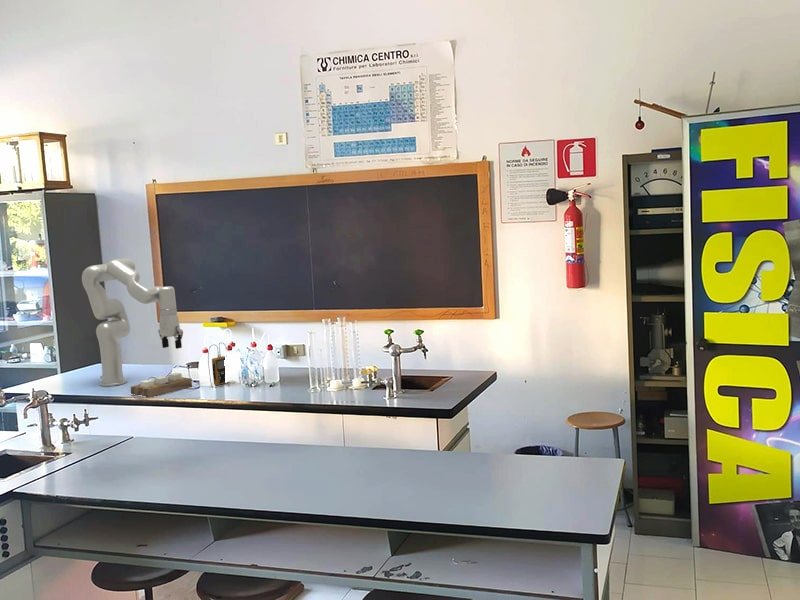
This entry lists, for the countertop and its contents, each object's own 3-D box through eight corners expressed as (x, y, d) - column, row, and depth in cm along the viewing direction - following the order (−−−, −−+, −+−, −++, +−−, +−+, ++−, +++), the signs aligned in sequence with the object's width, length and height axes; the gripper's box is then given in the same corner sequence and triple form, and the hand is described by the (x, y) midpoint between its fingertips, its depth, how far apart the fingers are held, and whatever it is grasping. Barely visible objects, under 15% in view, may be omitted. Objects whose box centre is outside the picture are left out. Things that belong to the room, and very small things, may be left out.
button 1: (140, 391, 352) (139, 381, 352) (148, 389, 356) (147, 379, 355) (146, 392, 350) (145, 382, 349) (154, 390, 353) (153, 380, 353)
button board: (131, 394, 354) (130, 385, 353) (173, 384, 373) (172, 375, 373) (150, 397, 346) (149, 388, 345) (192, 386, 365) (191, 377, 365)
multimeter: (221, 389, 357) (217, 347, 355) (207, 386, 363) (204, 345, 361) (245, 382, 369) (241, 342, 367) (231, 380, 375) (228, 340, 373)
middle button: (155, 387, 359) (154, 378, 358) (162, 385, 362) (161, 376, 362) (161, 388, 356) (160, 378, 356) (168, 386, 360) (167, 376, 359)
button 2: (168, 384, 365) (168, 374, 365) (176, 382, 369) (175, 372, 368) (174, 384, 363) (174, 375, 362) (182, 382, 366) (181, 373, 366)
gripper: (150, 313, 364) (154, 348, 366) (173, 313, 354) (177, 350, 356) (163, 311, 370) (167, 345, 372) (186, 311, 360) (190, 347, 362)
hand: (172, 347), depth 364 cm, fingers open, 9 cm apart
